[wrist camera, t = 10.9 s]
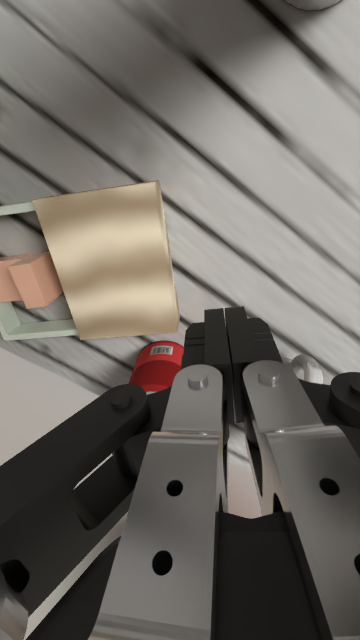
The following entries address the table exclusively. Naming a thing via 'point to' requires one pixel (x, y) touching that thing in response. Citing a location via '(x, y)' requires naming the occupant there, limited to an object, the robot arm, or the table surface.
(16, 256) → the tile back
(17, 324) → the tray
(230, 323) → the robot arm
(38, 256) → the tile front
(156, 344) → the canned food
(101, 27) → the table surface
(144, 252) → the plate
